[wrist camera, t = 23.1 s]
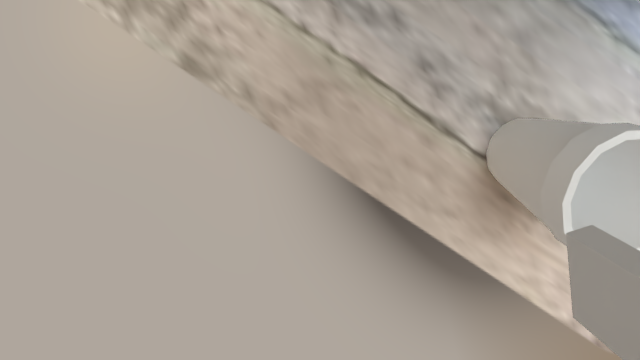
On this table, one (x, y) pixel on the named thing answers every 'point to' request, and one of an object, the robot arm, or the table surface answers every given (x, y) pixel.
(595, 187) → the grey rounded piece
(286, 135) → the table surface
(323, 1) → the table surface
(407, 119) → the table surface
